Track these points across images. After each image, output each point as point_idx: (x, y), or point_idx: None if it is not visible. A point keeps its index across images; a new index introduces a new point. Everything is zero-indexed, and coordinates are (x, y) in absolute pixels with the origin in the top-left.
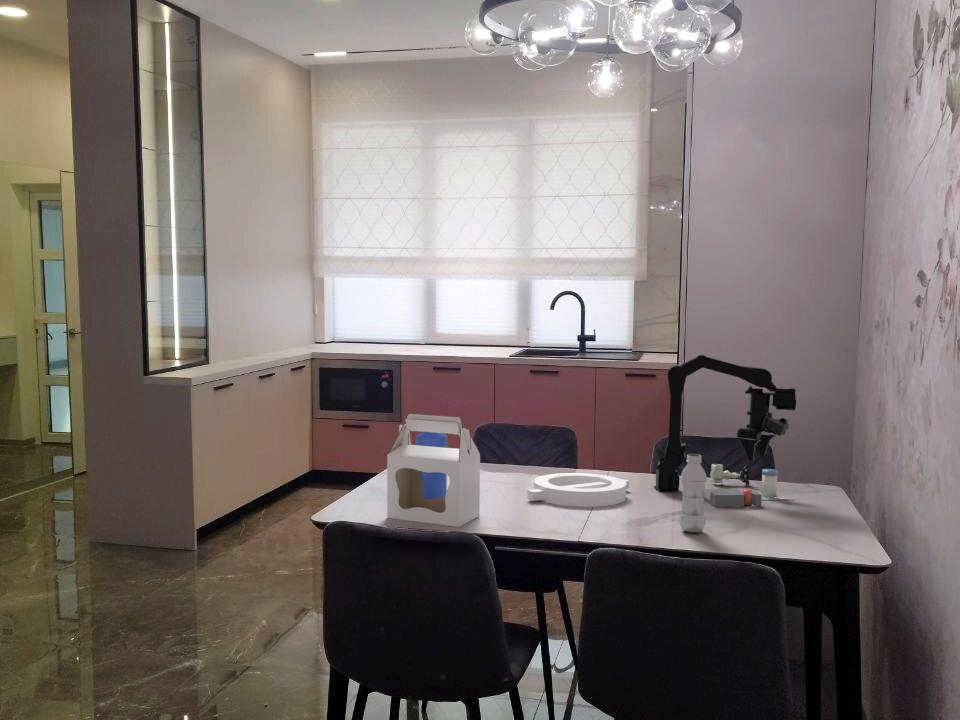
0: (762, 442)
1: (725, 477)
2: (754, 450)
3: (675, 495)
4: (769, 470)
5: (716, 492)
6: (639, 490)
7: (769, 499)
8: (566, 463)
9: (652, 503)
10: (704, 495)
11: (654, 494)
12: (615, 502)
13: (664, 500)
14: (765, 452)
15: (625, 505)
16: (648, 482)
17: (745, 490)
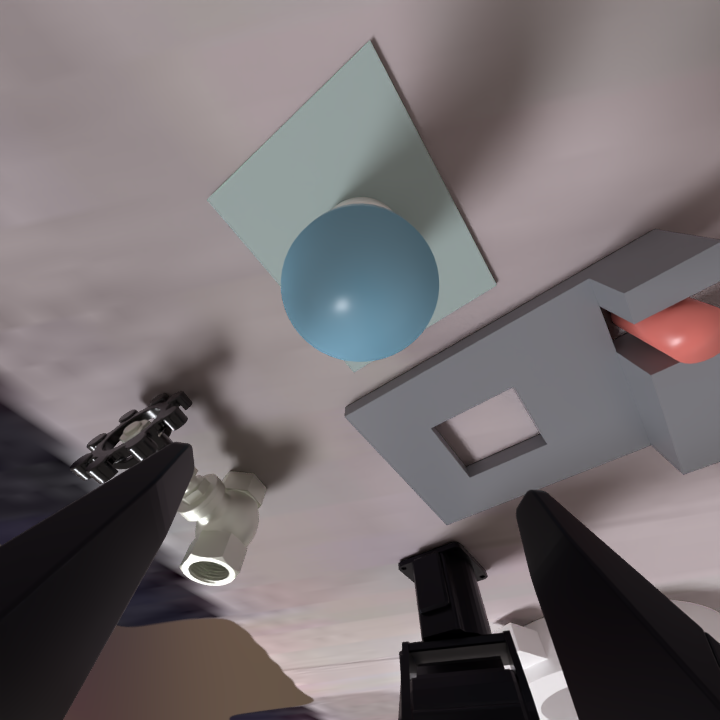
0: (6, 716)
1: (222, 490)
2: (677, 631)
3: (517, 536)
4: (368, 297)
5: (686, 455)
6: (483, 601)
7: (458, 222)
8: (265, 713)
9: (665, 554)
10: (548, 478)
11: (525, 572)
12: (695, 608)
13: (609, 542)
14: (138, 480)
15: (705, 587)
16: (359, 608)
17: (710, 347)
